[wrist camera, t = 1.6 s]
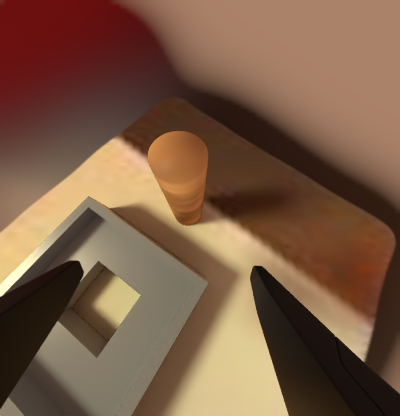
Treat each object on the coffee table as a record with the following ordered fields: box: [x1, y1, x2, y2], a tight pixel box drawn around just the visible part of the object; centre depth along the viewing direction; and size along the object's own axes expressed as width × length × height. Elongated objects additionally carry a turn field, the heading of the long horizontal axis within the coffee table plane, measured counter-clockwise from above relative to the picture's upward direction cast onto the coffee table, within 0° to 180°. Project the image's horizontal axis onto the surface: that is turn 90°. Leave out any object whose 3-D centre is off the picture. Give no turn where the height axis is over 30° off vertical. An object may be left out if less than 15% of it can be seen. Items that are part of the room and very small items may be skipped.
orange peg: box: [148, 131, 208, 226], centre depth 16 cm, size 4×4×13 cm
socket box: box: [0, 196, 208, 416], centre depth 16 cm, size 17×17×4 cm
